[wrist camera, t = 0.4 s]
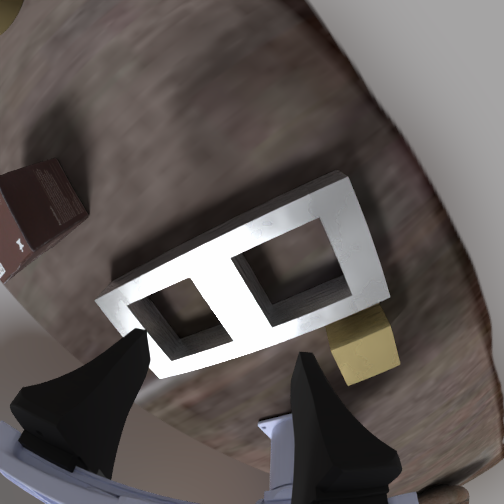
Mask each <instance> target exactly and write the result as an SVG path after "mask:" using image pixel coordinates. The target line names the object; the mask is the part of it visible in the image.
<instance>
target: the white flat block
mask: <svg viewBox="0 0 504 504" xmlns="http://www.w3.org/2000/svg"><path fill="white" fill-rule="evenodd" d="M318 217H319V219H320V221H321V223H322V225H323V228H324V230H325V232H326V235H327V237H328V239H329V241H330V244H331V246H332V248H333V251H334V253H335V256H336V258H337V260H338V263H339V265H340V268H341V270H342V273H343V275H341V276H339V277H337V278H334V279H332V280H330V281H327V282H325V283H323V284H320V285H318V286H316V287H313V288H311V289H309V290H306V291H304V292H302V293H299V294H297V295H294V296H292V297H289V298H287V299H285V300H282V301H280V302H277V303H275V304H271V302H270V300H269V298H268V297H267V295H266V293H265V291H264V290H263V288H262V286H261V285H260V283H259V281H258V279H257V278H256V276H255V274H254V272H253V271H252V269H251V267H250V265H249V264H248V262H247V260H246V258H245V257H244V255H243V253H242V252H244V251H246V250H248V249H250V248H253V247H255V246H257V245H259V244H261V243H263V242H266V241H268V240H270V239H272V238H274V237H277V236H279V235H281V234H283V233H285V232H288V231H290V230H292V229H294V228H296V227H298V226H301V225H303V224H305V223H307V222H309V221H312V220H314V219H316V218H318ZM189 276H190V277H191V279H192V280H193V282H194V283H195V285H196V286H197V288H198V289H199V291H200V292H201V294H202V295H203V297H204V298H205V300H206V301H207V302H208V304H209V305H210V307H211V308H212V310H213V311H214V313H215V314H216V316H217V317H218V318H219V320H220V321H221V323H222V324H220V325H217V326H215V327H212V328H209V329H206V330H204V331H201V332H198V333H195V334H192V335H190V336H187V337H184V338H181V339H180V338H179V337H178V335H177V334H176V333H175V332H174V330H173V329H172V328H171V326H170V325H169V324H168V322H167V321H166V320H165V319H164V317H163V316H162V315H161V313H160V312H159V311H158V309H157V308H156V306H155V305H154V304H153V302H152V301H151V300H150V298H149V297H148V295H150V294H152V293H155V292H157V291H159V290H161V289H163V288H165V287H168V286H170V285H172V284H174V283H176V282H178V281H181V280H183V279H185V278H187V277H189ZM387 298H390V294H389V290H388V287H387V284H386V280H385V277H384V274H383V270H382V267H381V264H380V261H379V258H378V255H377V252H376V249H375V246H374V243H373V240H372V237H371V234H370V232H369V229H368V226H367V223H366V221H365V218H364V215H363V213H362V210H361V207H360V205H359V202H358V200H357V197H356V195H355V192H354V190H353V187H352V185H351V182H350V180H349V178H348V176H346V175H345V174H343V173H342V172H340V171H339V170H334V171H332V172H330V173H328V174H325V175H323V176H321V177H319V178H317V179H314V180H312V181H310V182H308V183H306V184H304V185H301V186H299V187H297V188H295V189H293V190H291V191H288V192H286V193H284V194H282V195H280V196H278V197H276V198H274V199H272V200H269V201H267V202H265V203H263V204H261V205H259V206H257V207H255V208H253V209H251V210H249V211H247V212H245V213H243V214H240V215H238V216H236V217H234V218H232V219H230V220H228V221H226V222H224V223H222V224H220V225H218V226H216V227H214V228H212V229H210V230H208V231H206V232H204V233H202V234H200V235H198V236H196V237H195V238H193V239H191V240H189V241H187V242H185V243H183V244H181V245H179V246H177V247H175V248H173V249H171V250H169V251H167V252H166V253H164V254H162V255H160V256H158V257H156V258H154V259H152V260H150V261H148V262H147V263H145V264H143V265H141V266H139V267H137V268H135V269H134V270H132V271H130V272H128V273H126V274H124V275H123V276H121V277H119V278H117V279H115V280H113V281H112V282H110V283H109V285H108V286H107V287H106V288H105V289H104V290H103V291H102V292H101V294H100V295H99V296H98V297H97V298H96V299H95V301H96V303H97V304H98V305H99V307H100V308H101V309H102V311H103V312H104V313H105V315H106V316H107V317H108V319H109V320H110V321H111V322H112V324H113V325H114V326H115V328H116V329H117V330H118V331H119V333H120V334H121V335H122V336H123V337H124V336H125V335H127V334H128V333H129V332H130V331H132V330H133V329H134V328H139V329H144V330H147V336H148V343H149V351H150V357H151V362H150V365H149V368H150V369H151V370H152V371H153V372H154V373H155V374H156V375H157V376H158V377H159V378H160V379H162V378H166V377H170V376H173V375H177V374H181V373H185V372H188V371H192V370H196V369H199V368H203V367H206V366H210V365H213V364H216V363H220V362H223V361H226V360H229V359H233V358H236V357H239V356H242V355H245V354H248V353H251V352H254V351H257V350H260V349H263V348H266V347H269V346H272V345H275V344H277V343H280V342H283V341H286V340H289V339H291V338H294V337H297V336H299V335H302V334H305V333H307V332H310V331H312V330H315V329H318V328H320V327H323V326H325V325H328V324H330V323H333V322H335V321H337V320H340V319H342V318H345V317H347V316H349V315H352V314H354V313H356V312H359V311H361V310H363V309H365V308H368V307H370V306H372V305H374V304H377V303H379V302H381V301H383V300H385V299H387Z"/></svg>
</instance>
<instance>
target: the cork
mask: <svg viewBox="0 0 504 504" xmlns="http://www.w3.org/2000/svg"><path fill="white" fill-rule="evenodd" d="M22 3H23V0H0V35H1V34H3V33H4V32H5V31H6V30H7V29H8V28H9V26H10V25H11V24H12V23H13V21H14V19H15V18H16V16H17V15H18V13H19V11H20V8H21V6H22Z"/></svg>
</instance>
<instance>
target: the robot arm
mask: <svg viewBox="0 0 504 504" xmlns="http://www.w3.org/2000/svg"><path fill="white" fill-rule="evenodd" d="M150 362H151V357H150V351H149V343H148V336H147V330H144V329H139V328H134V329H133V330H132V331H130V332H129V333H128V334H127V335H125V336H124V337H123V338H122V339H120V340H119V341H118V342H117V343H115V344H114V345H113V346H111V347H110V348H109V349H107V350H106V351H105V352H103V353H102V354H101V355H99V356H98V357H96V358H95V359H93V360H92V361H90V362H89V363H87V364H85V365H84V366H82V367H80V368H78V369H76V370H74V371H72V372H70V373H68V374H65V375H63V376H61V377H59V378H56V379H53V380H50V381H48V382H44V383H41V384H37V385H32V386H28V387H23V388H22V389H21V390H20V391H19V393H18V394H17V396H16V397H15V399H14V400H13V401H12V403H11V404H10V409H11V412H12V413H13V415H14V416H15V418H16V419H17V421H18V422H19V423H20V425H21V426H22V427H23V429H24V431H23V433H22V434H21V433H20V432H19V431H18V430H17V429H15V428H13V427H12V426H10V425H9V424H7V423H6V422H4V421H1V422H0V473H2V474H3V475H4V476H5V477H6V478H7V479H9V480H10V481H12V482H13V483H15V484H16V485H17V486H19V487H20V488H22V489H23V490H25V491H27V492H28V493H30V494H31V495H33V496H35V497H36V498H38V499H39V500H41V501H43V502H44V503H46V504H199V503H193V502H188V501H183V500H178V499H173V498H169V497H165V496H161V495H157V494H154V493H150V492H146V491H143V490H139V489H136V488H133V487H129V486H127V485H124V484H121V483H117V482H115V481H112V480H111V478H112V472H113V466H114V461H115V457H116V453H117V448H118V445H119V441H120V437H121V434H122V430H123V427H124V424H125V421H126V418H127V416H128V413H129V411H130V408H131V407H132V404H133V402H134V400H135V398H136V396H137V394H138V392H139V390H140V388H141V386H142V384H143V382H144V379H145V377H146V374H147V371H148V368H149V365H150ZM291 410H292V413H291V414H287V415H283V416H280V417H276V418H272V419H267V420H263V421H259V422H258V427H259V428H260V429H261V430H262V431H263V432H264V433H265V434H266V435H267V436H268V437H269V438H270V439H271V465H270V491H265V492H264V499H259V500H258V501H257V502H256V504H419V502H418V498H417V494H416V492H410V493H406V494H402V495H397V496H393V497H390V498H388V499H387V494H386V493H388V492H389V487H388V484H390V483H391V482H392V481H393V480H394V479H395V478H397V477H398V476H399V474H400V473H401V471H402V466H401V462H400V459H399V456H398V454H397V451H396V450H394V449H393V448H391V447H390V446H388V445H386V444H385V443H383V442H382V441H381V440H379V439H378V438H377V437H375V436H374V435H373V434H372V433H370V432H369V431H368V430H367V429H366V428H365V427H364V426H363V425H362V424H361V423H360V422H359V421H358V420H357V419H356V418H355V417H354V416H353V415H352V414H351V413H350V412H349V410H348V409H347V408H346V407H345V405H344V404H343V403H342V402H341V400H340V399H339V397H338V396H337V395H336V393H335V392H334V390H333V389H332V387H331V385H330V384H329V382H328V380H327V379H326V377H325V375H324V374H323V372H322V370H321V368H320V366H319V364H318V362H317V360H316V358H315V356H314V354H313V353H308V352H299V355H298V358H297V362H296V365H295V369H294V372H293V376H292V379H291Z"/></svg>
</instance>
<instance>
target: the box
mask: <svg viewBox="0 0 504 504" xmlns="http://www.w3.org/2000/svg"><path fill="white" fill-rule="evenodd" d="M87 218H88V213H87V212H86V210H85V208H84V206H83V205H82V203H81V202H80V200H79V198H78V196H77V195H76V193H75V191H74V190H73V188H72V186H71V184H70V182H69V181H68V179H67V177H66V175H65V173H64V171H63V169H62V167H61V166H60V164H59V162H58V160H57V158H53V159H50V160H46V161H42V162H39V163H36V164H32V165H29V166H26V167H23V168H20V169H17V170H14V171H11V172H7V173H5V174H3V175H0V280H1V281H2V282H3V284H5V283H6V282H7V281H8V280H10V279H11V278H12V277H13V276H15V275H16V274H17V273H18V272H20V271H21V270H22V269H23V268H25V267H26V266H27V265H29V264H30V263H31V262H33V261H34V260H35V259H36V258H38V257H39V256H40V255H42V254H43V253H44V252H46V251H47V250H49V249H50V248H52V247H54V246H55V245H56V244H57V243H58V242H59V241H61V240H62V239H63V238H64V237H66V236H67V235H68V234H69V233H70V232H71V231H73V230H74V229H75V228H76V227H77V226H78V225H80V224H81V223H82V222H83V221H84V220H86V219H87Z"/></svg>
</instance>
